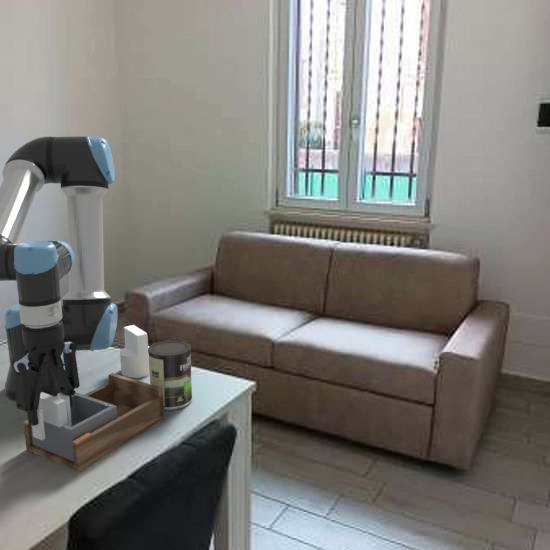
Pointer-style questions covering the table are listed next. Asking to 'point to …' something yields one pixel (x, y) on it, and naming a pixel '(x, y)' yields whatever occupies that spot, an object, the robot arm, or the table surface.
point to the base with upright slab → (135, 353)
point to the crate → (83, 417)
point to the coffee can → (171, 372)
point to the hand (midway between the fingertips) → (52, 430)
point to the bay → (129, 424)
